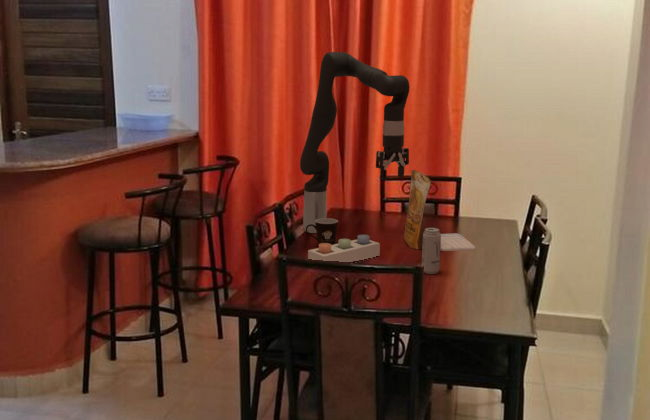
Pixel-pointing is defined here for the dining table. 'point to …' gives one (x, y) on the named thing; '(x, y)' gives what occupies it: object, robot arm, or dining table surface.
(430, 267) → the energy drink can
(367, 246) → the console
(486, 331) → the dining table surface
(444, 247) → the calculator
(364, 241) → the button slate
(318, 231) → the coffee mug
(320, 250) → the button terracotta
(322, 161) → the robot arm
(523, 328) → the dining table surface
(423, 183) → the pancake mix bag
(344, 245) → the button sage
